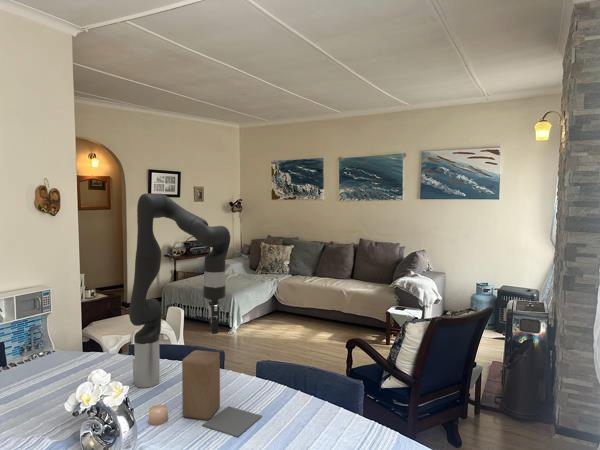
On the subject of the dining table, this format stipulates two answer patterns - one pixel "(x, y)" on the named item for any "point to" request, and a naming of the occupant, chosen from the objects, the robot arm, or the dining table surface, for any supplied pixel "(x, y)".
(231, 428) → the mat
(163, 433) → the dining table surface
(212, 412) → the block
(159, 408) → the tan rounded lump
